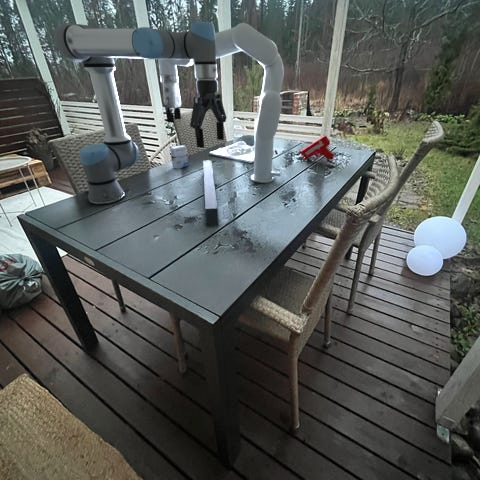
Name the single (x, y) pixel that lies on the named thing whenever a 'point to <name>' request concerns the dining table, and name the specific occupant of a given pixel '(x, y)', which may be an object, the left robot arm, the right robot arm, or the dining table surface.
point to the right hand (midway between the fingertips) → (174, 120)
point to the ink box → (179, 156)
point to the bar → (210, 195)
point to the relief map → (237, 152)
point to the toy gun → (318, 149)
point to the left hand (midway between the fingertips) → (211, 143)
